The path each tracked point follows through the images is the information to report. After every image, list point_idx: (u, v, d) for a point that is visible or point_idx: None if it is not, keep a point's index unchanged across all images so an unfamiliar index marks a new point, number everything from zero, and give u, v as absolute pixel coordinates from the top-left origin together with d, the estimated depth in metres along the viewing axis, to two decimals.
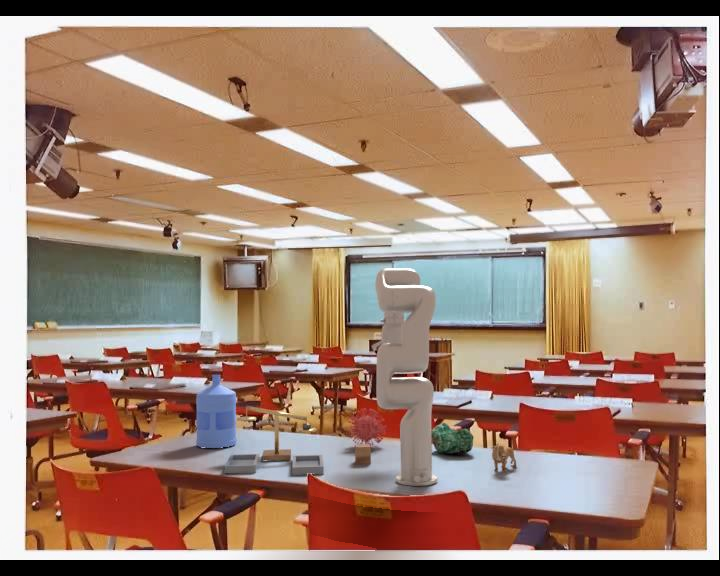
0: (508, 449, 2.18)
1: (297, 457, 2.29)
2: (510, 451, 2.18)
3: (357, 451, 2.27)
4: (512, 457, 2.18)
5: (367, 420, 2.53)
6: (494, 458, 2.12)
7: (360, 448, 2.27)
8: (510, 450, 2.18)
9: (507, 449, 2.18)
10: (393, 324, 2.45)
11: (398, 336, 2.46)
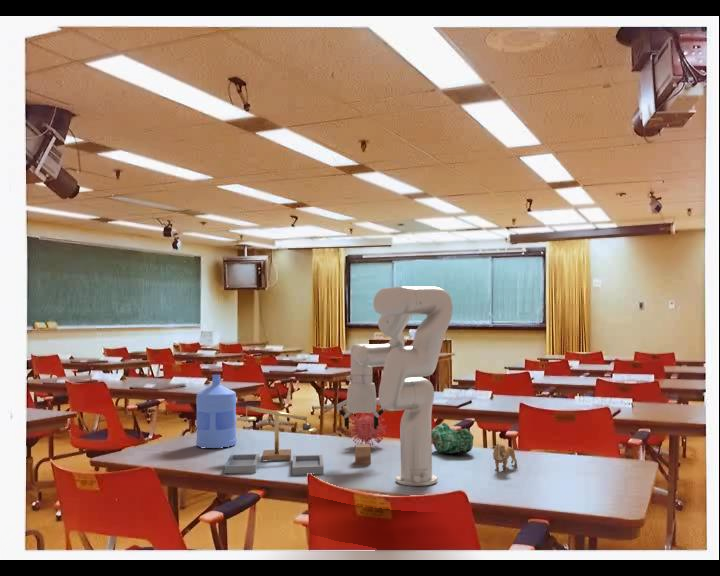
0: (509, 449, 2.18)
1: (297, 457, 2.29)
2: (511, 451, 2.18)
3: (357, 451, 2.27)
4: (513, 457, 2.19)
5: (367, 420, 2.53)
6: (495, 458, 2.13)
7: (360, 448, 2.27)
8: (511, 450, 2.18)
9: (508, 449, 2.18)
10: (360, 383, 2.27)
11: (365, 396, 2.28)
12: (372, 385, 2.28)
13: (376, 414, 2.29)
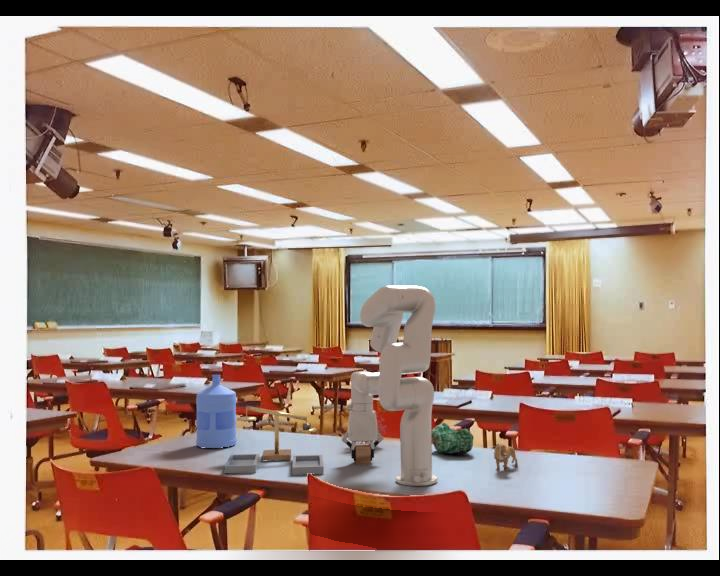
0: (509, 448, 2.19)
1: (297, 457, 2.29)
2: (512, 450, 2.19)
3: (357, 451, 2.27)
4: (513, 456, 2.19)
5: None
6: (496, 457, 2.13)
7: (360, 448, 2.27)
8: (511, 449, 2.19)
9: (509, 448, 2.19)
10: (360, 411, 2.26)
11: (366, 424, 2.27)
12: (373, 413, 2.28)
13: (371, 446, 2.28)
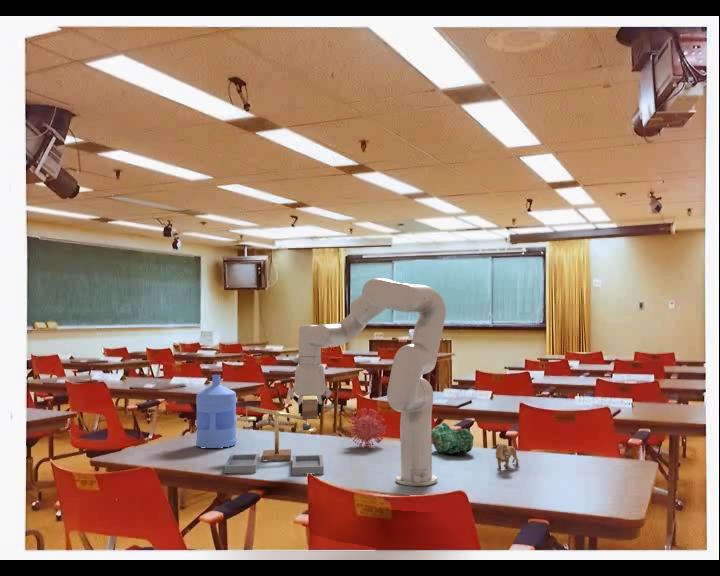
0: (511, 448, 2.19)
1: (297, 457, 2.29)
2: (513, 450, 2.20)
3: (303, 405, 2.20)
4: (514, 456, 2.20)
5: (367, 420, 2.53)
6: (498, 457, 2.14)
7: (306, 402, 2.20)
8: (513, 449, 2.20)
9: (510, 448, 2.19)
10: (307, 364, 2.20)
11: (313, 378, 2.20)
12: (320, 367, 2.21)
13: (319, 400, 2.22)
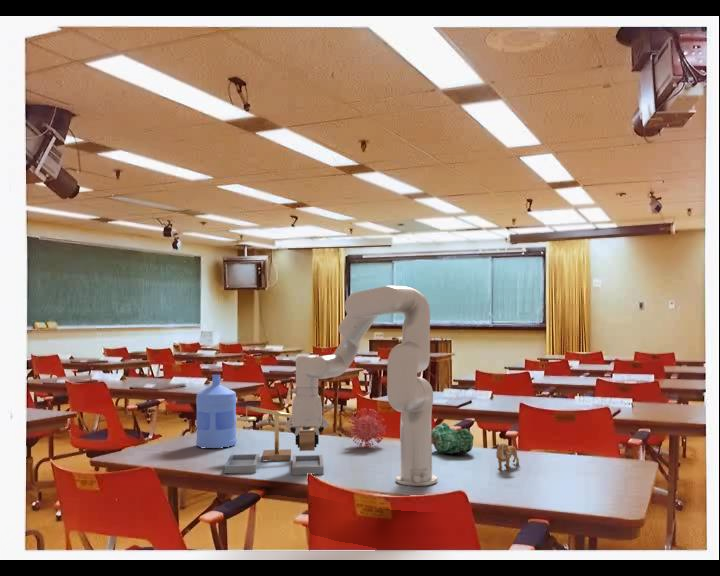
0: (511, 448, 2.20)
1: (297, 457, 2.29)
2: (513, 450, 2.20)
3: (300, 437, 2.19)
4: (515, 455, 2.20)
5: (367, 420, 2.53)
6: (499, 457, 2.14)
7: (303, 434, 2.20)
8: (513, 449, 2.20)
9: (510, 448, 2.20)
10: (304, 396, 2.19)
11: (310, 409, 2.20)
12: (317, 398, 2.20)
13: (316, 432, 2.21)
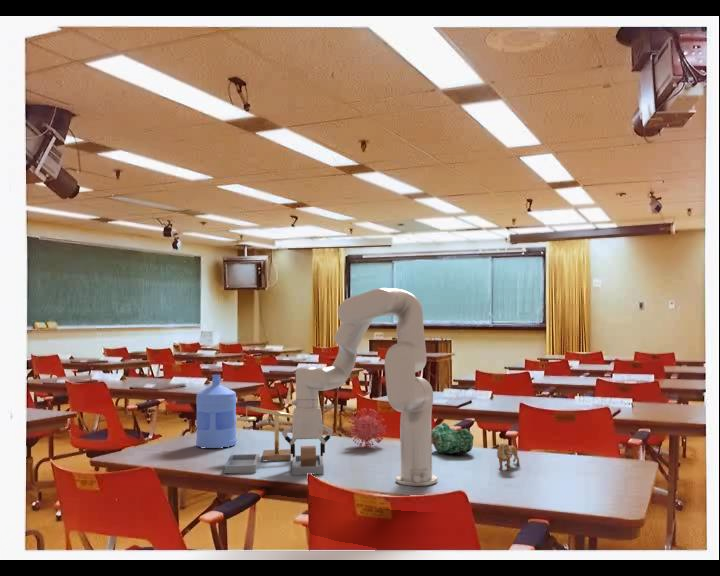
0: (512, 447, 2.20)
1: (297, 457, 2.29)
2: (514, 449, 2.20)
3: (302, 453, 2.19)
4: (516, 455, 2.21)
5: (367, 420, 2.53)
6: (499, 456, 2.14)
7: (305, 450, 2.19)
8: (514, 448, 2.20)
9: (511, 447, 2.20)
10: (304, 408, 2.19)
11: (310, 421, 2.19)
12: (318, 410, 2.20)
13: (322, 440, 2.21)
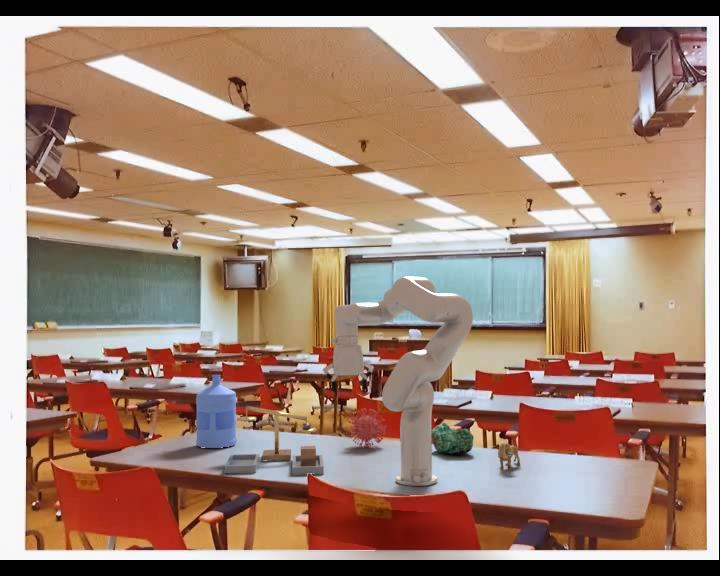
0: (512, 447, 2.21)
1: (297, 457, 2.29)
2: (515, 449, 2.21)
3: (302, 453, 2.19)
4: (516, 455, 2.21)
5: (367, 420, 2.53)
6: (500, 456, 2.15)
7: (305, 450, 2.19)
8: (514, 448, 2.21)
9: (511, 447, 2.21)
10: (346, 344, 2.21)
11: (352, 357, 2.21)
12: (358, 346, 2.22)
13: (364, 376, 2.23)
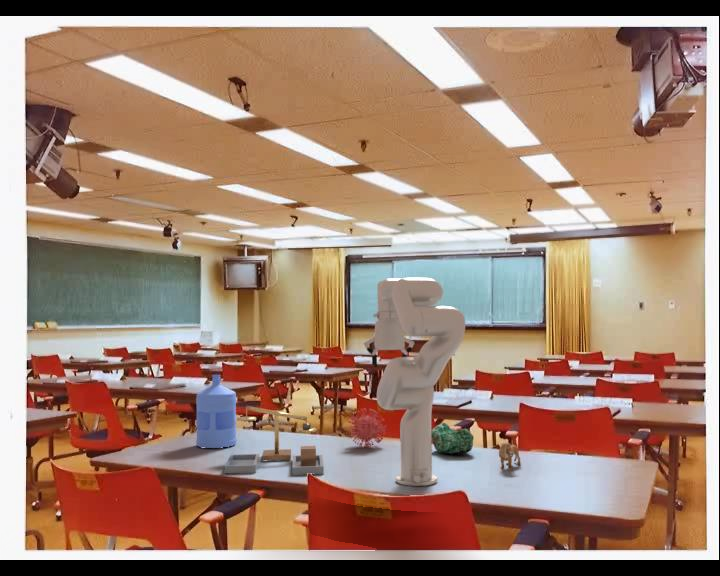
0: (513, 447, 2.21)
1: (297, 457, 2.29)
2: (515, 449, 2.22)
3: (302, 453, 2.19)
4: (517, 455, 2.22)
5: (367, 420, 2.53)
6: (501, 456, 2.15)
7: (305, 450, 2.19)
8: (515, 448, 2.22)
9: (512, 447, 2.21)
10: (387, 319, 2.22)
11: (393, 332, 2.23)
12: (400, 321, 2.24)
13: (404, 351, 2.25)
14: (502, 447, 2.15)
